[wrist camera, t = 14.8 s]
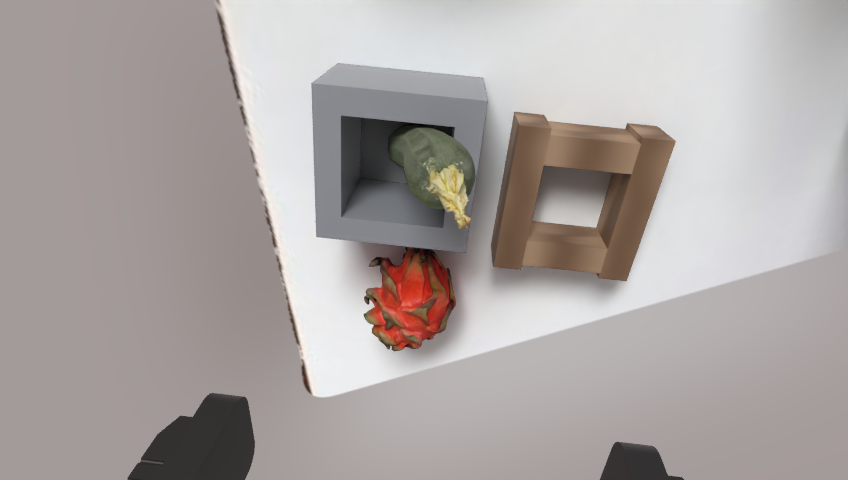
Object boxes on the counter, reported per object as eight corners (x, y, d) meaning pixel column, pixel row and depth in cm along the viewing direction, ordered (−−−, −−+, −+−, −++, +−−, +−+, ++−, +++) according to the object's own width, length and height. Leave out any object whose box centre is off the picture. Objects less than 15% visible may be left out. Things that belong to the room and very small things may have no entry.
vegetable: (390, 110, 41) (438, 143, 23) (437, 122, 42) (521, 164, 24) (378, 160, 42) (415, 231, 24) (424, 171, 43) (495, 247, 25)
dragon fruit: (393, 315, 54) (421, 218, 50) (453, 356, 50) (489, 253, 46) (338, 338, 47) (364, 228, 43) (401, 387, 43) (437, 270, 39)
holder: (483, 77, 39) (487, 101, 32) (464, 209, 45) (465, 252, 38) (338, 63, 40) (311, 83, 33) (338, 196, 45) (316, 237, 38)
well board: (657, 126, 40) (675, 141, 37) (614, 257, 47) (626, 281, 43) (514, 112, 40) (519, 125, 37) (491, 244, 47) (493, 266, 43)
